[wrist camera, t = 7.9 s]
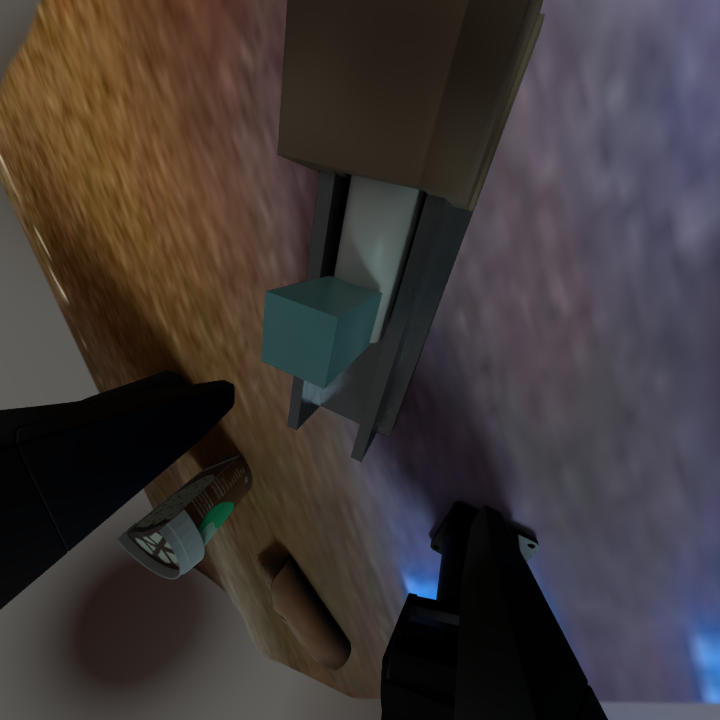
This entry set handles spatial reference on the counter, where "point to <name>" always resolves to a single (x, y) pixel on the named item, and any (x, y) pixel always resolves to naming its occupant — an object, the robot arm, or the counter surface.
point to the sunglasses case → (302, 612)
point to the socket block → (404, 88)
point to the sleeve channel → (406, 322)
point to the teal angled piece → (345, 287)
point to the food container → (188, 519)
